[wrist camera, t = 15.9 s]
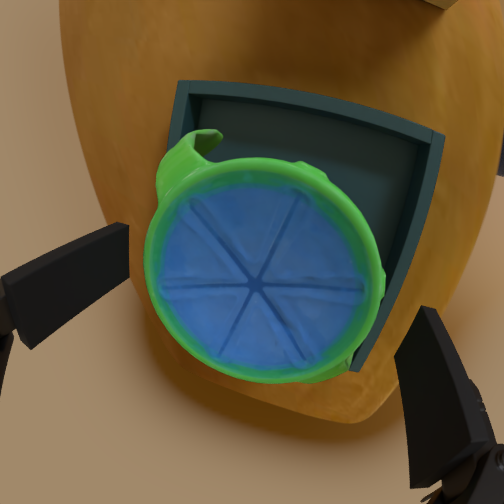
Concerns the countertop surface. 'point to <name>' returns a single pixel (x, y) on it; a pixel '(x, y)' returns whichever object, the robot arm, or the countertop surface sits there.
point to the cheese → (442, 3)
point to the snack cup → (260, 265)
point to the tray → (328, 159)
